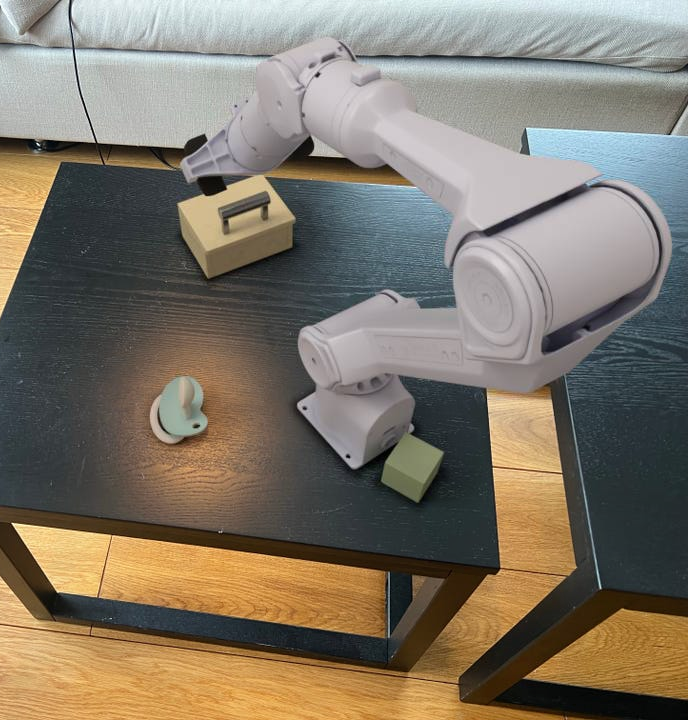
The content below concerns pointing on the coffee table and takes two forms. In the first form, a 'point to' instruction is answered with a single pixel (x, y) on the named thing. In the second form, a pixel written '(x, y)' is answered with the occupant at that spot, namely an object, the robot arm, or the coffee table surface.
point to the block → (411, 467)
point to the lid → (236, 214)
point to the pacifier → (178, 410)
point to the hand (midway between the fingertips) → (232, 167)
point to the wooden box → (236, 249)
